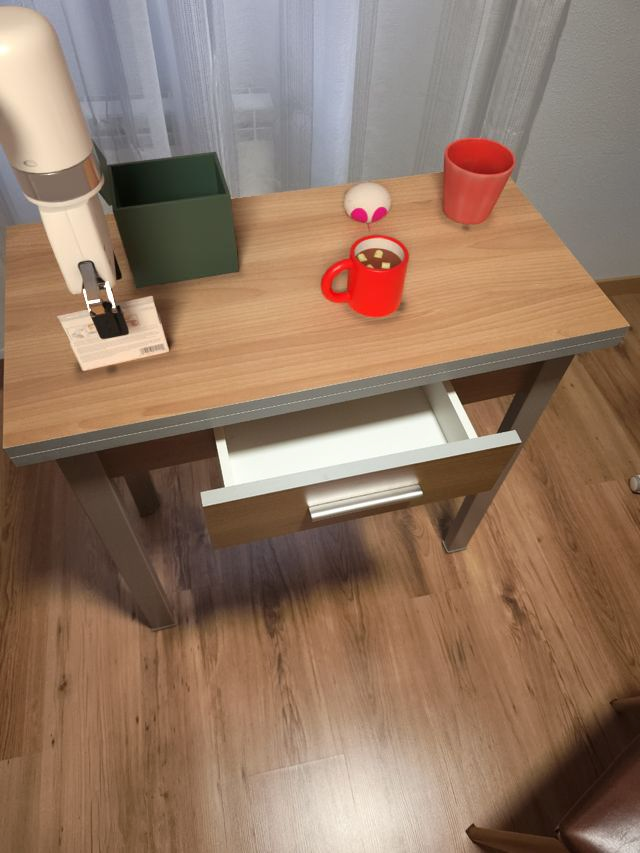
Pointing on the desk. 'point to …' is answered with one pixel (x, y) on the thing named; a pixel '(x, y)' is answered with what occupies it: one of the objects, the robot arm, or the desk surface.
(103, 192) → the green flat rectangular panel
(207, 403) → the desk surface
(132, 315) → the ink cartridge box
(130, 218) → the green hollow box
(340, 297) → the mug
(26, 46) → the robot arm
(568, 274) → the desk surface
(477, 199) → the flower pot
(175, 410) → the desk surface
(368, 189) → the toy mouse
